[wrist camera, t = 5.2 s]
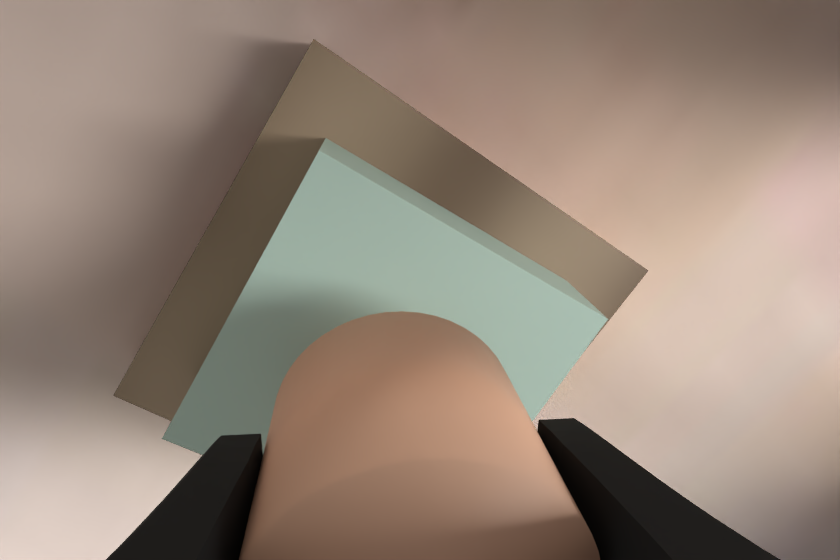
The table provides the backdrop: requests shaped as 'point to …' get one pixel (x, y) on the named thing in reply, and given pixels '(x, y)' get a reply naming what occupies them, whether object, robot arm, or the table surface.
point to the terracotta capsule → (407, 455)
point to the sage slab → (378, 296)
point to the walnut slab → (387, 151)
